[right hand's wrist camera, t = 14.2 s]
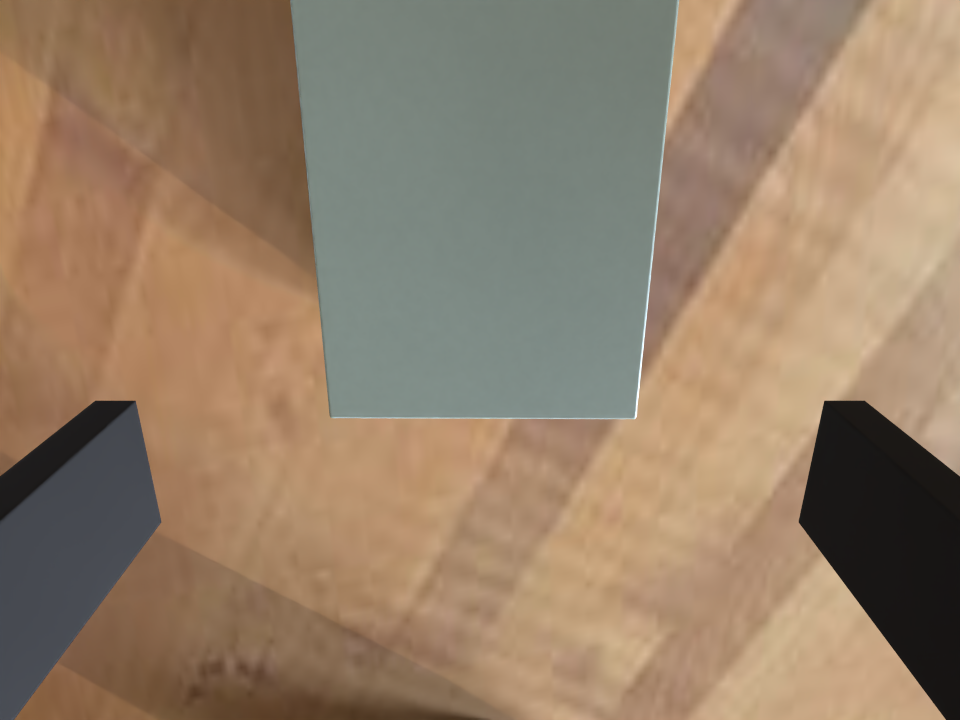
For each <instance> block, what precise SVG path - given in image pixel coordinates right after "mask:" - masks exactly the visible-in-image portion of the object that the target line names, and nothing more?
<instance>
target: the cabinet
mask: <svg viewBox="0 0 960 720" xmlns="http://www.w3.org/2000/svg"><path fill="white" fill-rule="evenodd" d="M290 3H291V13H292V24H293V34H294V45H295V55H296V66H297V76H298V87H299V97H300V108H301V118H302V129H303V139H304V150H305V160H306V171H307V181H308V192H309V202H310V213H311V223H312V234H313V244H314V255H315V265H316V276H317V286H318V297H319V307H320V318H321V329H322V339H323V350H324V360H325V371H326V381H327V392H328V402H329V413H330V417H331V418H487V419H635V418H636V415H637V405H638V395H639V386H640V376H641V366H642V356H643V347H644V337H645V327H646V317H647V308H648V298H649V288H650V278H651V269H652V259H653V249H654V239H655V230H656V220H657V210H658V200H659V191H660V181H661V171H662V161H663V152H664V142H665V132H666V122H667V113H668V103H669V93H670V83H671V74H672V64H673V54H674V45H675V35H676V25H677V15H678V6H679V0H290Z"/></svg>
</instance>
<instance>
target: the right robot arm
mask: <svg viewBox="0 0 960 720" xmlns="http://www.w3.org/2000/svg"><path fill="white" fill-rule="evenodd" d="M160 523H161V518H160V513H159V509H158V504H157V499H156V495H155V490H154V485H153V480H152V476H151V471H150V466H149V462H148V457H147V452H146V448H145V443H144V438H143V433H142V429H141V424H140V419H139V415H138V410H137V405H136V401H95V402H93V403H92V404H91V405H89V406H88V407H87V408H86V409H84V410H83V411H82V412H81V413H79V414H78V415H77V416H76V417H74V418H73V419H72V420H71V421H69V422H68V423H67V424H66V425H64V426H63V427H62V428H61V429H59V430H58V431H57V432H56V433H54V434H53V435H52V436H51V437H49V438H48V439H47V440H45V441H44V442H43V443H42V444H40V445H39V446H38V447H37V448H35V449H34V450H33V451H32V452H30V453H29V454H28V455H27V456H25V457H24V458H23V459H22V460H20V461H19V462H18V463H17V464H15V465H14V466H13V467H12V468H10V469H9V470H8V471H7V472H5V473H4V474H3V475H1V476H0V720H14V719H15V718H16V716H17V715H18V714H19V712H20V711H21V710H22V708H23V707H24V706H25V704H26V703H27V702H28V700H29V699H30V697H31V696H32V695H33V693H34V692H35V691H36V689H37V688H38V687H39V685H40V684H41V683H42V681H43V680H44V679H45V677H46V676H47V675H48V673H49V672H50V671H51V669H52V668H53V667H54V665H55V664H56V663H57V661H58V660H59V659H60V657H61V656H62V655H63V653H64V652H65V651H66V649H67V648H68V647H69V645H70V644H71V643H72V641H73V640H74V639H75V637H76V636H77V634H78V633H79V632H80V630H81V629H82V628H83V626H84V625H85V624H86V622H87V621H88V620H89V618H90V617H91V616H92V614H93V613H94V612H95V610H96V609H97V608H98V606H99V605H100V604H101V602H102V601H103V600H104V598H105V597H106V596H107V594H108V593H109V592H110V590H111V589H112V588H113V586H114V585H115V584H116V582H117V581H118V580H119V578H120V577H121V576H122V574H123V573H124V571H125V570H126V569H127V567H128V566H129V565H130V563H131V562H132V561H133V559H134V558H135V557H136V555H137V554H138V553H139V551H140V550H141V549H142V547H143V546H144V545H145V543H146V542H147V541H148V539H149V538H150V537H151V535H152V534H153V533H154V531H155V530H156V529H157V527H158V526H159V525H160ZM799 523H800V525H801V526H802V527H803V529H804V530H805V531H806V533H807V534H808V535H809V537H810V538H811V539H812V541H813V542H814V543H815V545H816V546H817V547H818V549H819V550H820V551H821V553H822V554H823V555H824V557H825V558H826V559H827V561H828V562H829V563H830V565H831V566H832V567H833V569H834V570H835V571H836V573H837V574H838V576H839V577H840V578H841V580H842V581H843V582H844V584H845V585H846V586H847V588H848V589H849V590H850V592H851V593H852V594H853V596H854V597H855V598H856V600H857V601H858V602H859V604H860V605H861V606H862V608H863V609H864V610H865V612H866V613H867V614H868V616H869V617H870V618H871V620H872V621H873V622H874V624H875V625H876V626H877V628H878V629H879V630H880V632H881V633H882V634H883V636H884V637H885V639H886V640H887V641H888V643H889V644H890V645H891V647H892V648H893V649H894V651H895V652H896V653H897V655H898V656H899V657H900V659H901V660H902V661H903V663H904V664H905V665H906V667H907V668H908V669H909V671H910V672H911V673H912V675H913V676H914V677H915V679H916V680H917V681H918V683H919V684H920V685H921V687H922V688H923V689H924V691H925V692H926V693H927V695H928V696H929V697H930V699H931V700H932V702H933V703H934V704H935V706H936V707H937V708H938V710H939V711H940V712H941V714H942V715H943V716H944V718H945V719H946V720H960V476H959V475H957V474H956V473H955V472H953V471H952V470H951V469H950V468H948V467H947V466H946V465H945V464H943V463H942V462H941V461H940V460H938V459H937V458H936V457H935V456H933V455H932V454H931V453H930V452H928V451H927V450H926V449H925V448H923V447H922V446H921V445H920V444H918V443H917V442H916V441H915V440H913V439H912V438H911V437H909V436H908V435H907V434H906V433H904V432H903V431H902V430H901V429H899V428H898V427H897V426H896V425H894V424H893V423H892V422H891V421H889V420H888V419H887V418H886V417H884V416H883V415H882V414H881V413H879V412H878V411H877V410H876V409H874V408H873V407H872V406H870V405H869V404H868V403H867V402H865V401H824V405H823V410H822V415H821V419H820V424H819V429H818V433H817V438H816V443H815V448H814V452H813V457H812V462H811V466H810V471H809V476H808V480H807V485H806V490H805V495H804V499H803V504H802V509H801V513H800V518H799Z"/></svg>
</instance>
